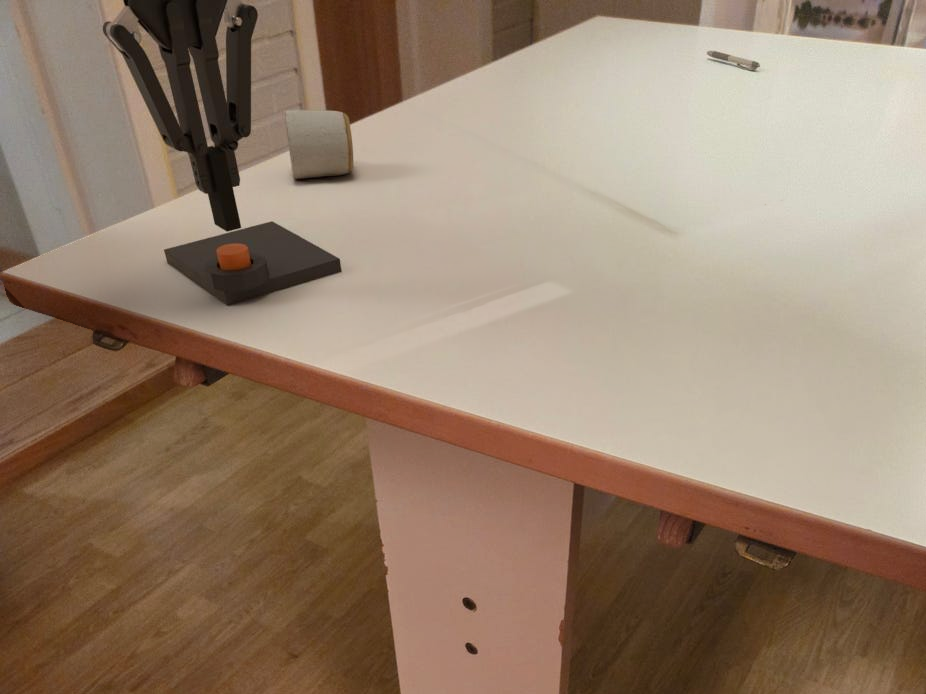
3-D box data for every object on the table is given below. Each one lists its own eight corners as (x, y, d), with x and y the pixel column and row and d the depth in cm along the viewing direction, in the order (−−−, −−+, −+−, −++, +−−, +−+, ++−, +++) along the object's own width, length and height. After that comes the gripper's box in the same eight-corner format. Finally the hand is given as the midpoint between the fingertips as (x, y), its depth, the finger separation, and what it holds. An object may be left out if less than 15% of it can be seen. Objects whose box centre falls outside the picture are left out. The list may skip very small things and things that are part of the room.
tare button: (215, 266, 86) (211, 248, 85) (243, 259, 87) (239, 240, 86) (228, 275, 84) (224, 257, 83) (256, 267, 85) (252, 249, 84)
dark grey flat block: (163, 263, 94) (155, 234, 92) (274, 233, 99) (269, 205, 97) (227, 311, 84) (220, 280, 82) (346, 274, 90) (342, 245, 88)
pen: (756, 72, 149) (757, 62, 148) (703, 58, 158) (704, 49, 157) (760, 71, 150) (762, 62, 149) (708, 58, 159) (709, 48, 158)
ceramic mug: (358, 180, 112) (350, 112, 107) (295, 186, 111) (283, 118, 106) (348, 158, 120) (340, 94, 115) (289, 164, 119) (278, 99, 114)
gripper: (89, -88, 62) (179, 254, 78) (254, -103, 67) (307, 219, 83) (55, -92, 66) (147, 232, 82) (213, -106, 71) (270, 201, 88)
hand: (227, 225), depth 83 cm, fingers closed
